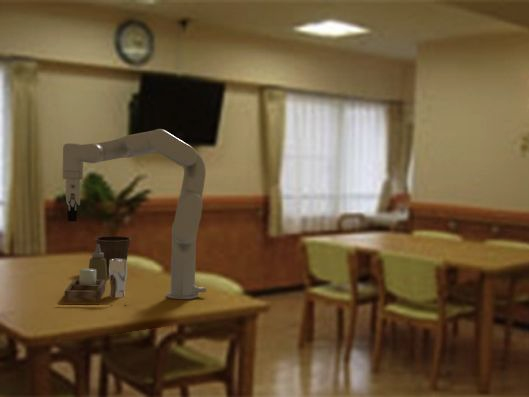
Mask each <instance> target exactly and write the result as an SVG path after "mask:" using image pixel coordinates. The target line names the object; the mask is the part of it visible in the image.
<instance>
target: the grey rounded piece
mask: <svg viewBox="0 0 529 397" xmlns="http://www.w3.org/2000/svg"><path fill="white" fill-rule="evenodd" d="M78 280H79V285H96V269H89V268H80V269H79V279H78Z"/></svg>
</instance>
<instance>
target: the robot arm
mask: <svg viewBox="0 0 529 397" xmlns="http://www.w3.org/2000/svg"><path fill="white" fill-rule="evenodd" d="M155 153H159V154H160V155H162V156H163V157H165V158H167V159H169V160H170V161H172V162H173V163H175V164H177V165H178V166H180V167H182V168H183V179H182V184H181V190H180V193H179V196H178V199H177V206H176V209H175V210H176V211H175V215H174V221H173V223H172V226H171V257H170V258H171V260H170V261H171V262H170V263H171V265H170V291H168V292H166V297H167V298H169V299H174V300H192V299H193V300H194V299H196V298H198V297H199V293H207V287H203V286H197V285H196V257H197V255H196V254H197V253H196V252H197V251H196V249H197V235H198V232H199V231H198V230H199V226H200V222H201V217H202V212H203V211H202V210H203V205H204V203H203V192H204V189H205V188H204V186H205V182H206V181H205V180H206V175H207V174H206V172H207V170H206V166H205V162H204V159H203V158H202V156H201V154H200V153H199V152H198V151H197V150H196V149H195V148H194V147H192V146H191V145H190V144H188V143H186V142H184V141H183V140H181V139H179V138H178V137H176V136H174V135H173V134H171V133H170V132H168V131H167V130H165V129H162V128H157V129H154V130H149V131H145V132H138V133H134V134H127V135H125V136H122V137H120V138H116V139H112V140H107V141H102V142H98V143H86V144H85V143H83V144H81V143H72V142H71V143H68V142H67V143H65V144H63V147H62V180H65V201H66V204H67V206H68V208H67V221H68V222H77V220H78V219H77V218H78V210H77V205H78V206H80V205H81V181H82V180H83V179H84V178H83V177H84V171H83V170H84V163H87V164H98V163H102V162H106V161H112V160H117V159H125V158H134V157H140V156H143V155H149V154H155ZM83 181H84V180H83Z"/></svg>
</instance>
